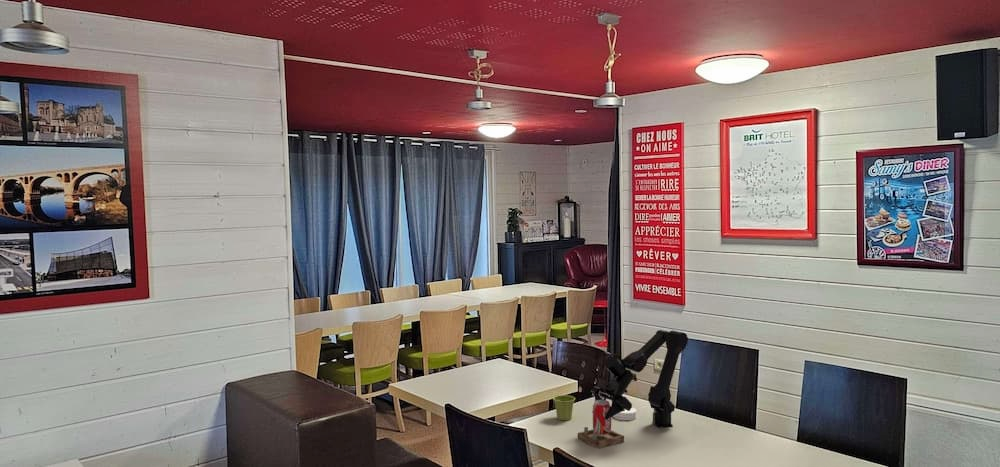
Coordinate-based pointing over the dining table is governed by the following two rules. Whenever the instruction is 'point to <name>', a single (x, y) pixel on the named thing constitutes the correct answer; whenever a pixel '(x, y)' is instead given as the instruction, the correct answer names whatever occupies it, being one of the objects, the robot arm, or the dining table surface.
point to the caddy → (600, 438)
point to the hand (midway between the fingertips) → (599, 416)
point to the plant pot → (564, 406)
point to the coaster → (627, 415)
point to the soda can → (601, 417)
